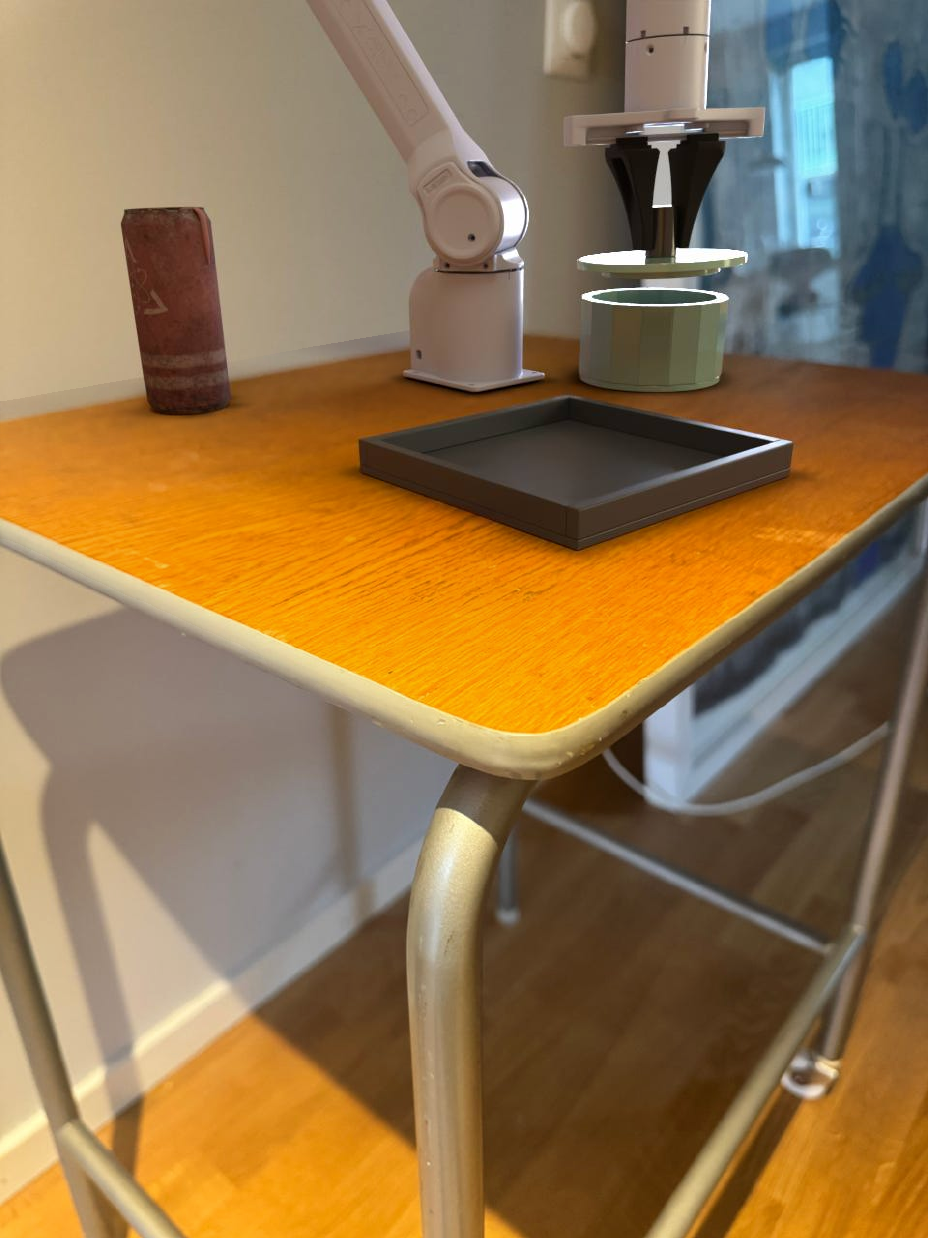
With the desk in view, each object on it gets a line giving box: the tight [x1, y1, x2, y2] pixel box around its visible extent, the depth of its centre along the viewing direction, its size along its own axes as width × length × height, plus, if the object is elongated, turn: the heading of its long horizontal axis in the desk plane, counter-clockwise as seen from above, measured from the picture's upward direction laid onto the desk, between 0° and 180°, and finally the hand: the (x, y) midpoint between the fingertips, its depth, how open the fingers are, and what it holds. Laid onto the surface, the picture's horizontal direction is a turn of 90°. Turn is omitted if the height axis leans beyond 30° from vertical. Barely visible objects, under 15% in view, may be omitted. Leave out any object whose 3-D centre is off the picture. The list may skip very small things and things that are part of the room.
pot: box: [578, 287, 730, 393], centre depth 81 cm, size 12×12×6 cm
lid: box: [576, 204, 748, 280], centre depth 74 cm, size 13×13×5 cm
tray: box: [357, 393, 794, 551], centre depth 56 cm, size 18×18×2 cm
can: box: [120, 206, 232, 416], centre depth 71 cm, size 6×6×14 cm
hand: (660, 248), depth 74 cm, fingers closed on lid, 2 cm apart
